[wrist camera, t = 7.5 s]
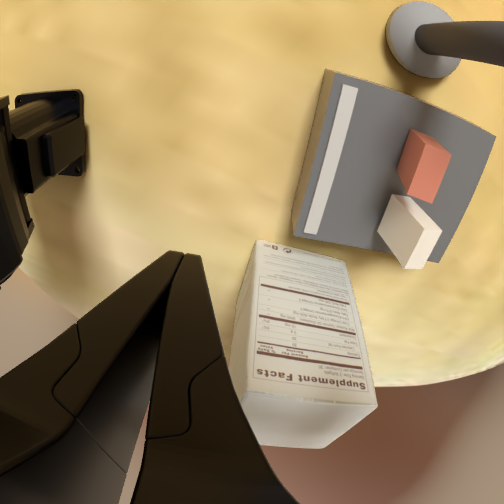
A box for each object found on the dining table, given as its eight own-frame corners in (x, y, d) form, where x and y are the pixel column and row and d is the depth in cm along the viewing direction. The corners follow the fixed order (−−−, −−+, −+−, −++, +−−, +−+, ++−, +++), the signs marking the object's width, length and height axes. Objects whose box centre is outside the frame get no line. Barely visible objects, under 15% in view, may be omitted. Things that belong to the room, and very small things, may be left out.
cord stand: (379, 61, 15) (509, 91, 5) (391, -9, 12) (521, -48, 2) (447, 87, 15) (586, 150, 5) (459, 21, 12) (603, 37, 2)
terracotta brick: (396, 169, 16) (406, 194, 13) (410, 128, 14) (425, 143, 12) (418, 178, 16) (432, 203, 13) (432, 137, 14) (451, 155, 11)
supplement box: (313, 319, 28) (322, 451, 18) (234, 302, 27) (215, 440, 17) (348, 258, 24) (382, 408, 14) (256, 234, 23) (242, 394, 13)
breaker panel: (291, 211, 22) (293, 237, 19) (325, 68, 16) (335, 72, 13) (424, 239, 22) (439, 264, 20) (472, 122, 16) (497, 137, 14)
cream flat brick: (377, 231, 18) (404, 268, 15) (391, 193, 17) (424, 228, 14) (394, 232, 18) (422, 269, 16) (409, 196, 17) (442, 230, 14)
